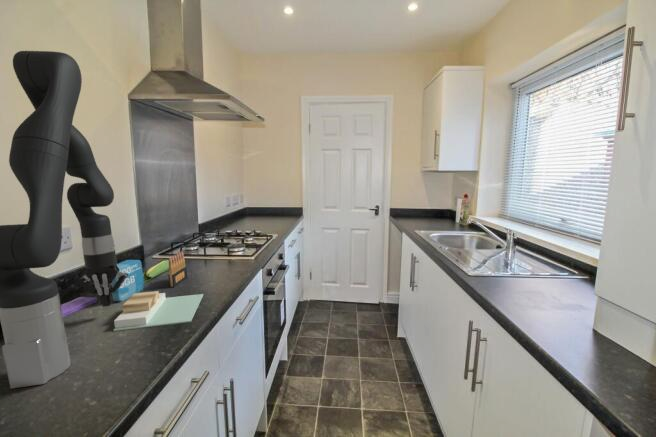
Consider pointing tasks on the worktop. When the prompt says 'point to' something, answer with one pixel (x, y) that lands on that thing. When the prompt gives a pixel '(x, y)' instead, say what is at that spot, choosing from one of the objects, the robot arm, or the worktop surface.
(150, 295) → the coaster
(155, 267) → the edible corn
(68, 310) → the sponges
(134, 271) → the data package
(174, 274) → the ammunition clip
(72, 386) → the worktop surface
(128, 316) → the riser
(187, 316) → the mat
